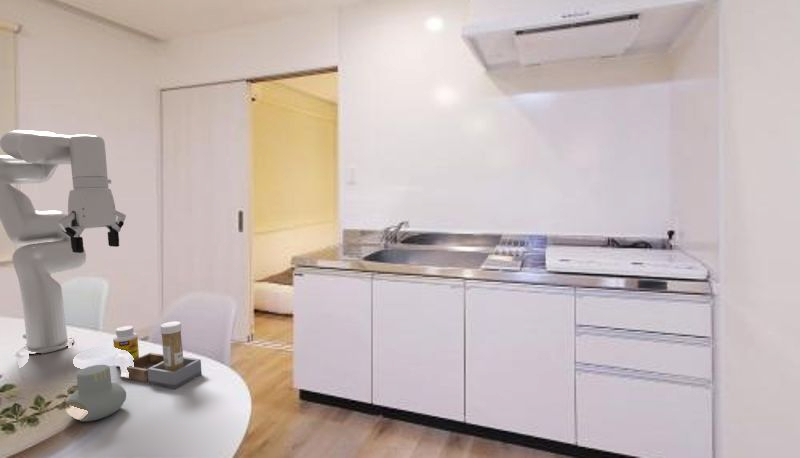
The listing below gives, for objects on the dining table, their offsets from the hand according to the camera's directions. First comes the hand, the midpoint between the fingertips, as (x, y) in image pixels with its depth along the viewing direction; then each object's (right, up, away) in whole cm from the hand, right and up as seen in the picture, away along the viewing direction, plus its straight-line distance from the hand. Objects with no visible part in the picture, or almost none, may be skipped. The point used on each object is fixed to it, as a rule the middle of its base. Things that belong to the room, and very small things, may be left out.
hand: (96, 249), depth 117 cm
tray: (+23, -32, -5) cm, 40 cm away
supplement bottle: (+6, -32, +4) cm, 33 cm away
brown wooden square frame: (+14, -32, -1) cm, 35 cm away
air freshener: (+15, -35, -21) cm, 43 cm away
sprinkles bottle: (+23, -32, -5) cm, 40 cm away
